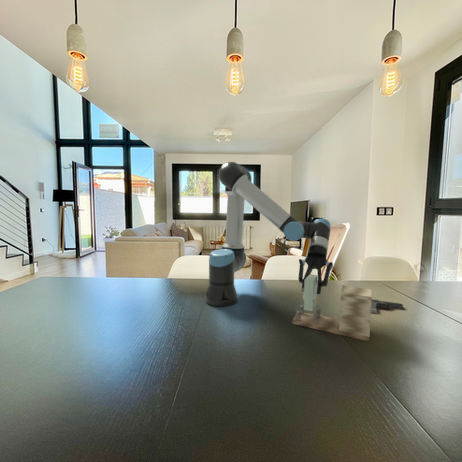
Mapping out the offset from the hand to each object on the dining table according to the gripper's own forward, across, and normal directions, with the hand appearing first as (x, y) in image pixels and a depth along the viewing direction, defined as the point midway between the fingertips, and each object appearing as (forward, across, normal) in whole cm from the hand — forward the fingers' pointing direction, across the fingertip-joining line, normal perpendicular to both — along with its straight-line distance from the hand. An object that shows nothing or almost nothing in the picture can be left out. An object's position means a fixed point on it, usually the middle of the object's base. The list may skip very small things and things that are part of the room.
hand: (309, 300), depth 88 cm
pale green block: (+1, 0, -4) cm, 4 cm away
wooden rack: (+5, -7, -8) cm, 12 cm away
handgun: (-15, -25, -30) cm, 42 cm away
